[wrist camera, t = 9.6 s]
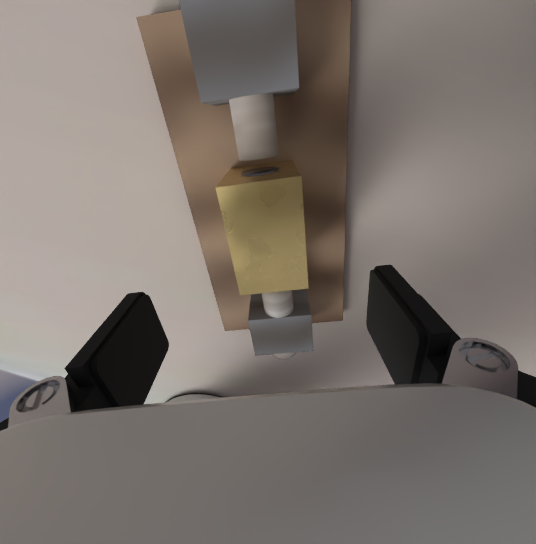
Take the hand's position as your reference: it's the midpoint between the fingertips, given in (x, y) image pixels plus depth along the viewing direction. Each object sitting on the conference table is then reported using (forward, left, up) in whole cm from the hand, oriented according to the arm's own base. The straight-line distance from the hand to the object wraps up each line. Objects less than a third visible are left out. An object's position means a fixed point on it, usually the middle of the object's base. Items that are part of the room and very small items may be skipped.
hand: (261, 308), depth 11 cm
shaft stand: (+1, 0, -12) cm, 12 cm away
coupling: (+1, 0, -11) cm, 11 cm away
